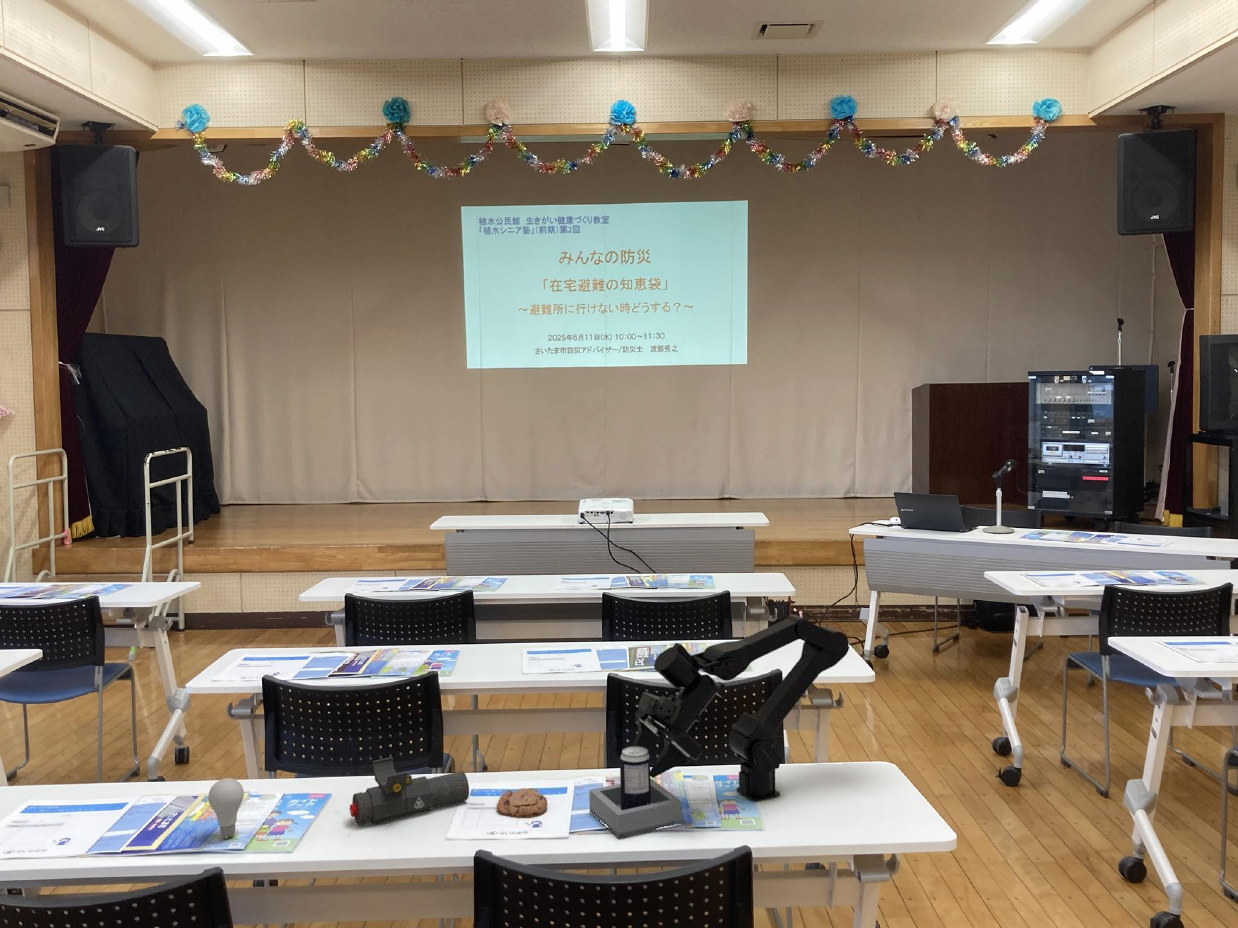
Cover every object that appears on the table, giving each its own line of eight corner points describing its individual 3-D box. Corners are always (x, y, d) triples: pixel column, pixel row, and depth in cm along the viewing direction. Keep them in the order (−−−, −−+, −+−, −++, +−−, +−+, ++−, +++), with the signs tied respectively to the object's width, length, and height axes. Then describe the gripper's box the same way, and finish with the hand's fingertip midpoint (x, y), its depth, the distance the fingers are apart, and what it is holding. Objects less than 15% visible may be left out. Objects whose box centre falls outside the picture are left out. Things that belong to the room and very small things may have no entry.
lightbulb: (211, 847, 174) (208, 788, 173) (208, 834, 180) (206, 776, 179) (247, 840, 177) (245, 781, 176) (243, 827, 182) (241, 770, 182)
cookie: (528, 824, 182) (528, 808, 182) (485, 812, 188) (485, 796, 188) (560, 805, 190) (559, 790, 190) (517, 794, 196) (517, 780, 196)
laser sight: (473, 808, 189) (471, 759, 189) (358, 836, 178) (356, 783, 178) (455, 792, 198) (454, 744, 197) (345, 817, 187) (343, 766, 186)
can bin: (650, 799, 191) (649, 777, 191) (681, 824, 180) (681, 800, 179) (589, 812, 186) (589, 789, 186) (618, 839, 174) (618, 814, 174)
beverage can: (656, 811, 183) (655, 749, 183) (639, 821, 179) (638, 758, 178) (632, 804, 187) (631, 743, 186) (615, 814, 182) (613, 752, 182)
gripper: (642, 665, 192) (593, 728, 189) (685, 689, 175) (631, 759, 172) (679, 698, 196) (631, 761, 192) (724, 725, 179) (672, 794, 175)
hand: (640, 767), depth 183 cm, fingers open, 9 cm apart
